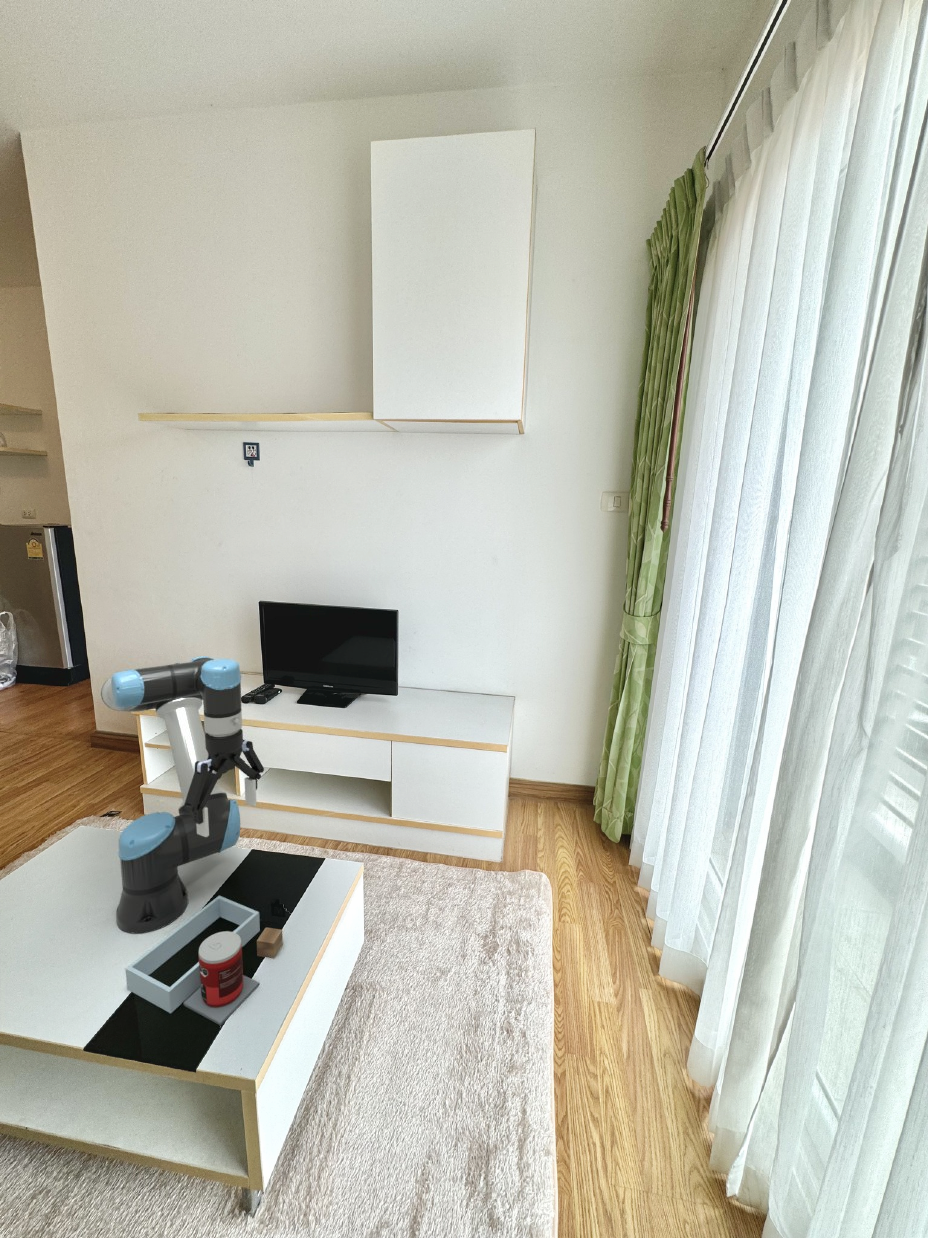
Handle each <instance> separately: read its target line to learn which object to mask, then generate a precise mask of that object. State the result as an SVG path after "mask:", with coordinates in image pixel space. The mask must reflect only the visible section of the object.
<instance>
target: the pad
mask: <svg viewBox="0 0 928 1238" xmlns="http://www.w3.org/2000/svg"><path fill="white" fill-rule="evenodd" d="M258 987H260V982H259V981H256V980H254V979H252V978H250V977H248V976H247V975H244V974H243V987H242V990H241V993H240V994H239V996H238V997H237V998H236V999H235V1000H234V1001H232V1002H231V1003H229V1004H227V1005H224V1006H220V1007H211V1006H209V1005H207V1004H206V1003H205V1002H204V1001H203V999H202V996H201V986H200V987H199V988H198V989H197V990H196V991H194V992H193V993H192V994H191V995H190V996H189V997H188V998H187V999H186V1000H185V1001H184V1002H183V1006H184V1007H186V1008H188V1009H189V1010H191V1011H192V1012H195V1013H196V1014H199V1015H201V1016H203V1017H204V1018H206V1019H208V1020H210V1021H212V1022H213V1023H215V1024H217V1025H219V1026H222V1025H223V1024H224V1023H225V1022H226V1021H227V1020H228V1019H229V1018H230V1017H231V1015H232V1014H233V1013H235V1011H236V1010H237V1009H238V1008H240V1006H242V1004H243V1003H244V1002H245V1001H246V1000H247V999H248V998H249V997H250V996H251V995H252V994H253V992H254V991H255V990H256V989H257V988H258Z"/></svg>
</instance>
